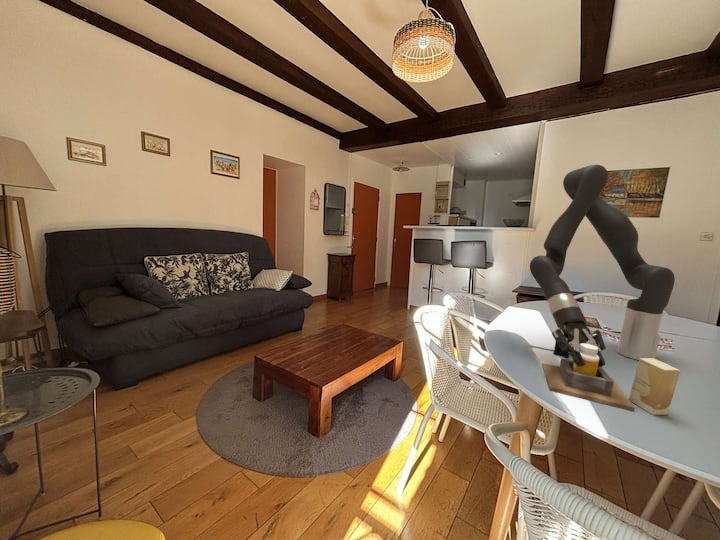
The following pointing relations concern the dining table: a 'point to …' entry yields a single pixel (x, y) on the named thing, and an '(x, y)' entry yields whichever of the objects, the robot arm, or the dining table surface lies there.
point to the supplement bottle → (588, 360)
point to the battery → (560, 351)
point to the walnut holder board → (585, 385)
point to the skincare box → (654, 386)
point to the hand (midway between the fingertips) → (591, 365)
